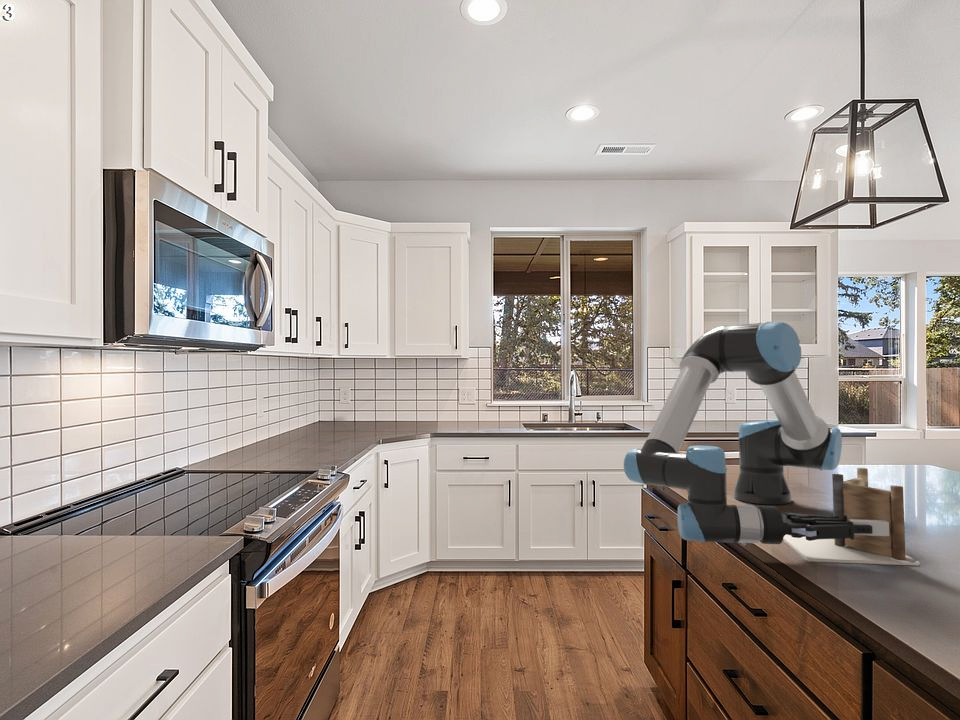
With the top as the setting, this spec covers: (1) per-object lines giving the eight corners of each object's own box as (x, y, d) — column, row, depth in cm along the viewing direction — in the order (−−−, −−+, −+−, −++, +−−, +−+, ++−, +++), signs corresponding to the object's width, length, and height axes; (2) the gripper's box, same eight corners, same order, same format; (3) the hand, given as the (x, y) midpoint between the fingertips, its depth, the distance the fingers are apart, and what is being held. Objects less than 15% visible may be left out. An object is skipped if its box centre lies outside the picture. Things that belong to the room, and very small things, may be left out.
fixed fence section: (843, 547, 120) (840, 475, 121) (832, 544, 122) (830, 474, 122) (871, 535, 128) (869, 468, 129) (861, 533, 130) (859, 467, 130)
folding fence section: (844, 544, 120) (841, 478, 120) (850, 543, 121) (848, 477, 121) (901, 561, 109) (898, 487, 110) (908, 559, 110) (905, 486, 110)
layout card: (771, 530, 135) (771, 528, 135) (865, 533, 132) (865, 530, 132) (807, 561, 113) (807, 558, 113) (921, 566, 110) (921, 562, 110)
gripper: (749, 533, 122) (871, 537, 118) (768, 552, 109) (906, 558, 105) (748, 498, 122) (870, 501, 118) (767, 513, 109) (904, 517, 105)
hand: (887, 528), depth 111 cm, fingers closed
